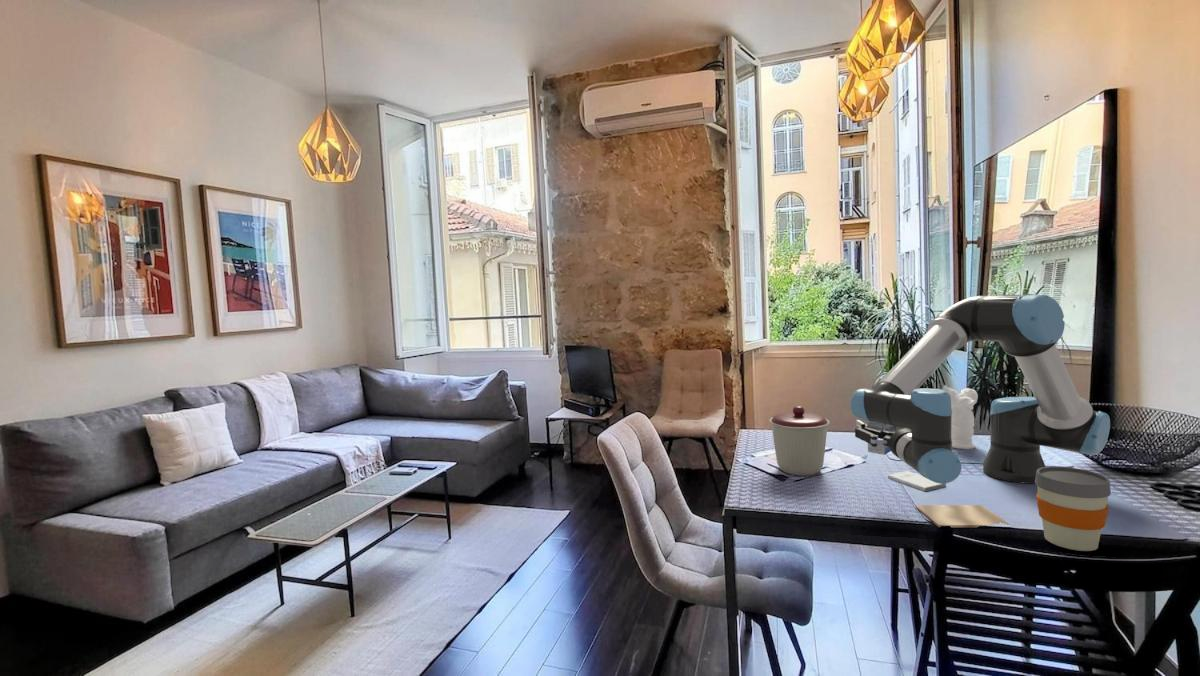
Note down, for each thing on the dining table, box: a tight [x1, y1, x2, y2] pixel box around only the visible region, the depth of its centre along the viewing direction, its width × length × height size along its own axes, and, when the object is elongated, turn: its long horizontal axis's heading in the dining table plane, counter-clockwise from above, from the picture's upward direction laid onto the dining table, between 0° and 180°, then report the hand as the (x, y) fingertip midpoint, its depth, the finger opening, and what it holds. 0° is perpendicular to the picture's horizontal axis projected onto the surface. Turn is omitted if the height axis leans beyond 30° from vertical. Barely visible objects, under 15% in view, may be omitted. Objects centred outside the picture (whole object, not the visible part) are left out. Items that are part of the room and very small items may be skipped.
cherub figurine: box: [941, 384, 979, 450], centre depth 187 cm, size 12×12×22 cm
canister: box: [768, 405, 830, 477], centre depth 173 cm, size 18×18×21 cm
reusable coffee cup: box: [1034, 466, 1112, 552], centre depth 119 cm, size 13×13×15 cm
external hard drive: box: [887, 470, 947, 492], centre depth 159 cm, size 2×8×12 cm
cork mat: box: [915, 504, 1010, 529], centre depth 134 cm, size 16×12×1 cm
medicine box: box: [866, 421, 896, 456], centre depth 146 cm, size 8×4×9 cm, turn 131°
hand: (874, 424), depth 151 cm, fingers closed on medicine box, 8 cm apart
